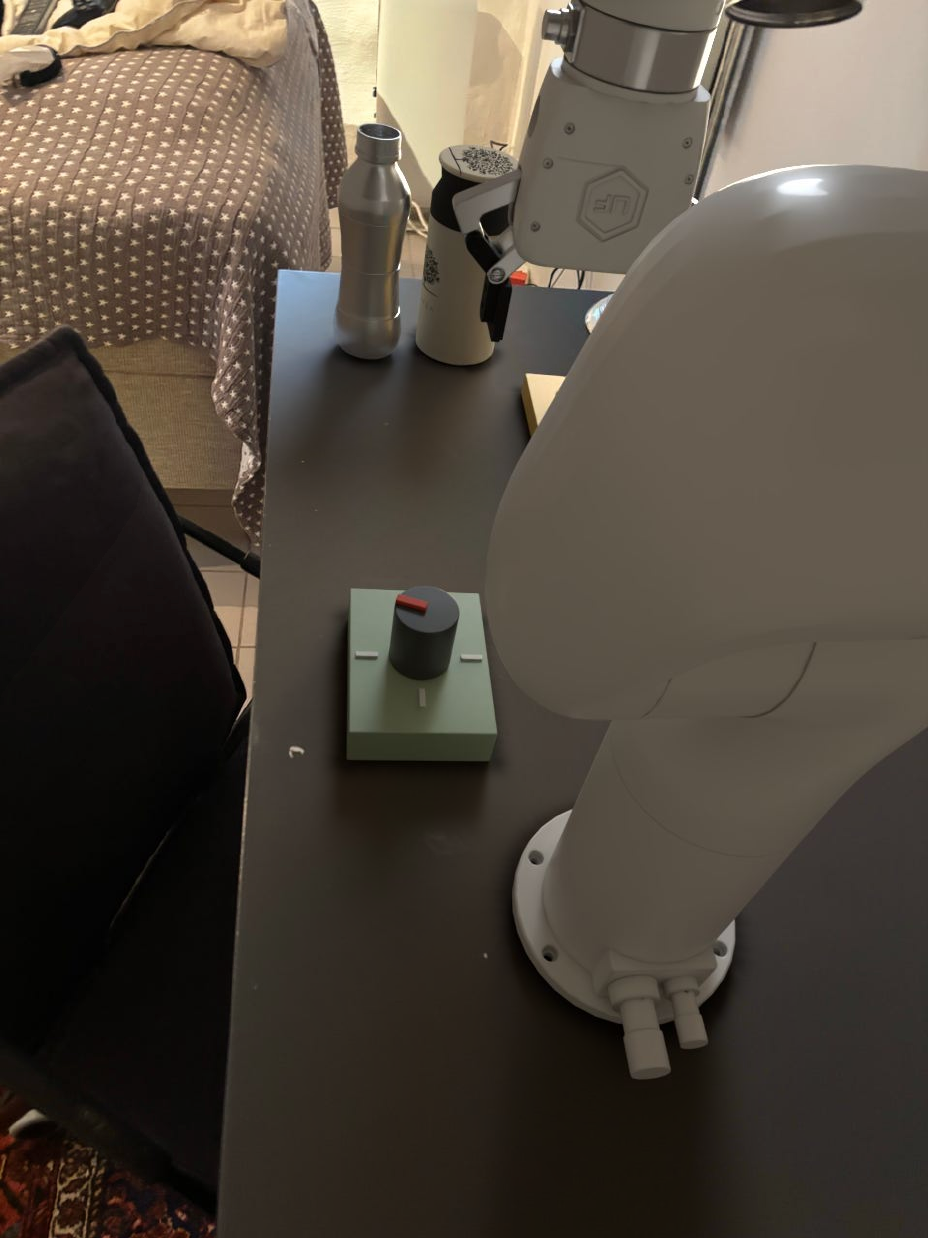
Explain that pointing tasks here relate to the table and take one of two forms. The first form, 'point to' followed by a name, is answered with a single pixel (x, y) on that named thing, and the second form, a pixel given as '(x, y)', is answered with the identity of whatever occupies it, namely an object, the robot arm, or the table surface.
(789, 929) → the table surface
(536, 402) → the button block
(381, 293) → the silver metal bottle
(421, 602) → the knob
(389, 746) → the panel
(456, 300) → the travel mug
